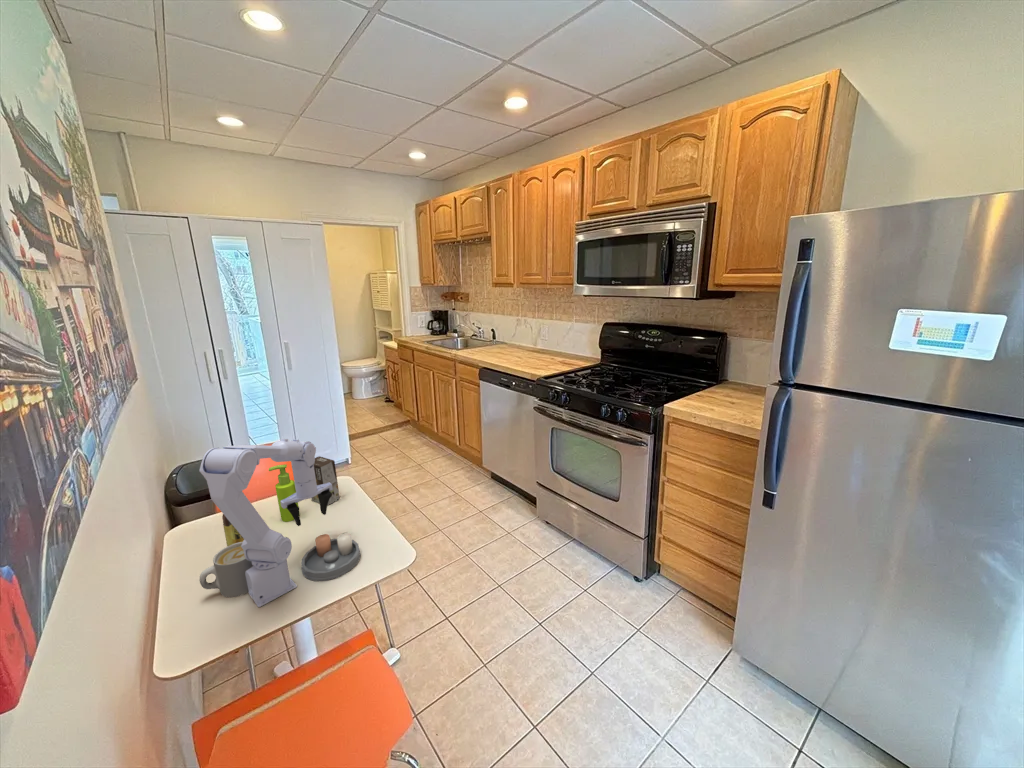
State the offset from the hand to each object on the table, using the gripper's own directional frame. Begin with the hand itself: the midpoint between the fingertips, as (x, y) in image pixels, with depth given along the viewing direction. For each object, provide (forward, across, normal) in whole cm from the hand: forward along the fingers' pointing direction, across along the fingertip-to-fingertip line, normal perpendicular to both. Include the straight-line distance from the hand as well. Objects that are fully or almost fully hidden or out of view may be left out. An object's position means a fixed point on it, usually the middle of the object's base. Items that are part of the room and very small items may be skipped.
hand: (311, 518), depth 124 cm
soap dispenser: (+10, -1, -24) cm, 26 cm away
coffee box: (+10, -15, -26) cm, 32 cm away
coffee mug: (+10, +22, 0) cm, 24 cm away
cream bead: (+9, -4, +11) cm, 15 cm away
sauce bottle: (+10, +16, -16) cm, 25 cm away
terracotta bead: (+9, 0, +6) cm, 11 cm away
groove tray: (+10, 0, +11) cm, 15 cm away
